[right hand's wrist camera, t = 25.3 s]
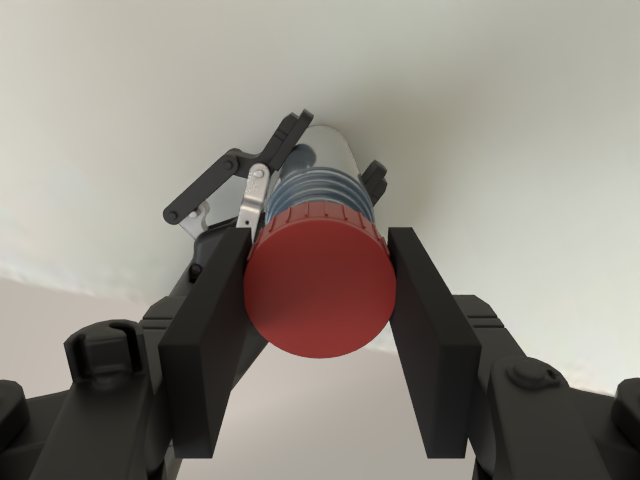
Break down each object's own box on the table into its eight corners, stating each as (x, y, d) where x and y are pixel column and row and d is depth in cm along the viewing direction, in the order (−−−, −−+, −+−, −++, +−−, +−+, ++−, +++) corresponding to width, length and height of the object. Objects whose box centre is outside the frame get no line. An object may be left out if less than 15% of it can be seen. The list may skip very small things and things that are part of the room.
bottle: (355, 180, 34) (404, 332, 14) (296, 192, 34) (263, 355, 14) (345, 119, 32) (385, 193, 13) (282, 131, 33) (225, 222, 13)
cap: (417, 243, 14) (430, 267, 12) (343, 347, 16) (346, 382, 14) (292, 172, 13) (288, 188, 12) (226, 289, 15) (213, 319, 13)
